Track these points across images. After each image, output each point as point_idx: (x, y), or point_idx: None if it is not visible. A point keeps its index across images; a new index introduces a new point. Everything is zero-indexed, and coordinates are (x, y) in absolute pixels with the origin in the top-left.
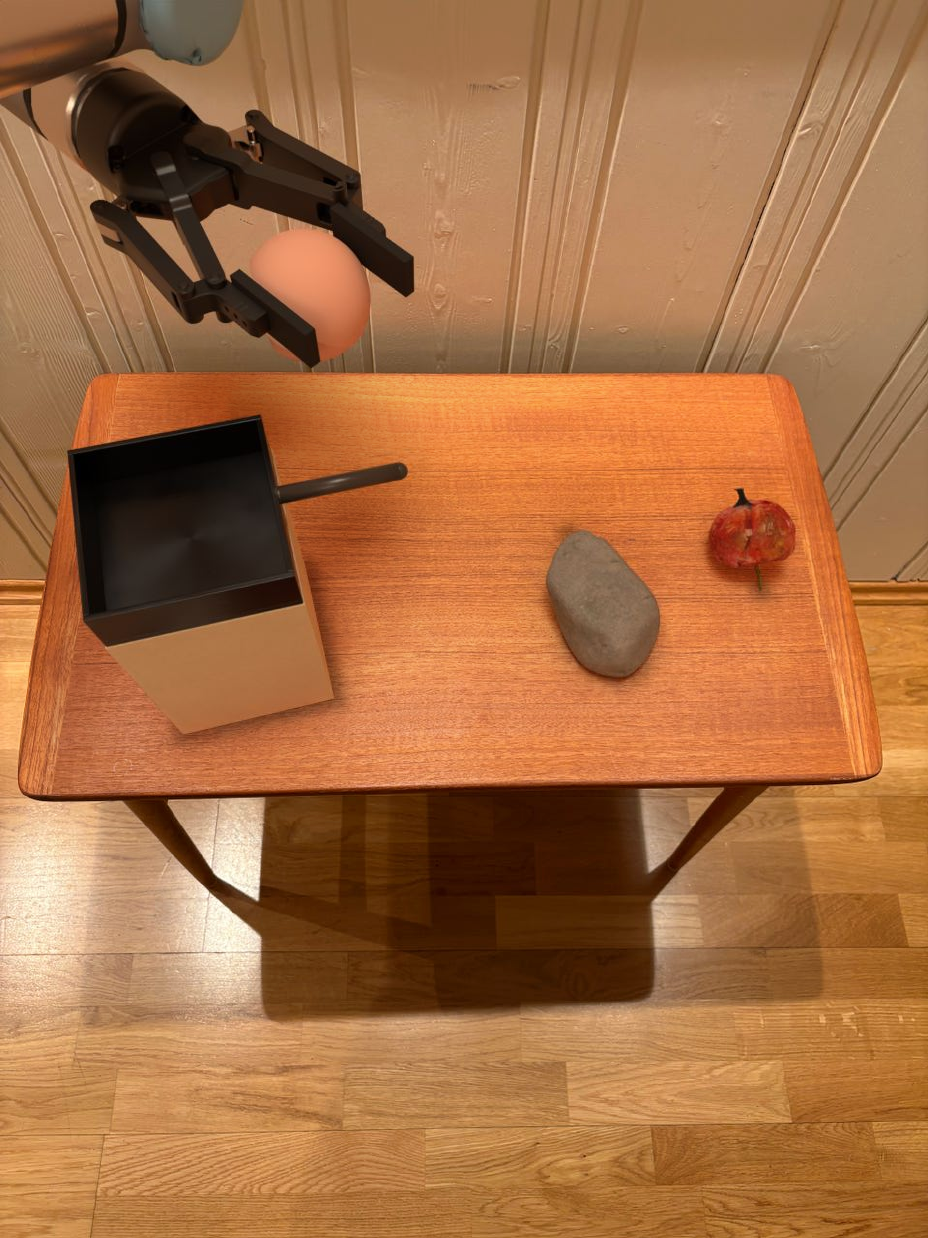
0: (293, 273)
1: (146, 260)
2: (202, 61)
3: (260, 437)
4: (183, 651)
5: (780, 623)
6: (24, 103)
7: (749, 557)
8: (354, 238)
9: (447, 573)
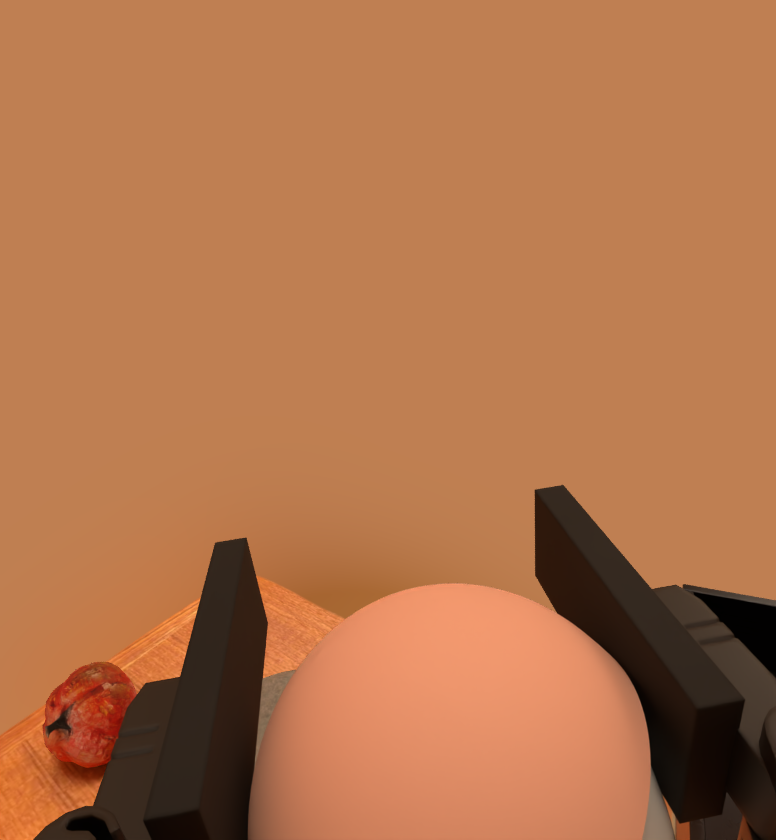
0: (512, 606)
1: None
2: None
3: (704, 837)
4: None
5: (166, 669)
6: None
7: (130, 683)
8: (232, 727)
9: None
